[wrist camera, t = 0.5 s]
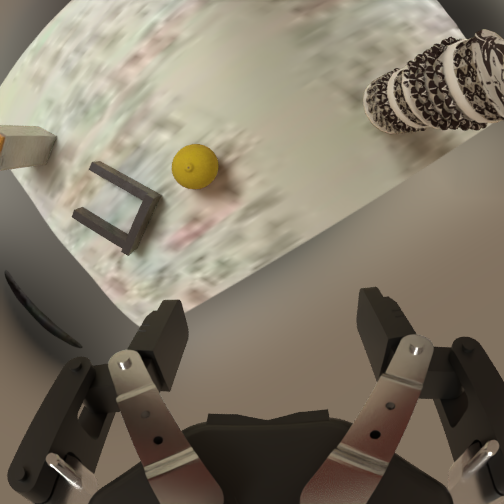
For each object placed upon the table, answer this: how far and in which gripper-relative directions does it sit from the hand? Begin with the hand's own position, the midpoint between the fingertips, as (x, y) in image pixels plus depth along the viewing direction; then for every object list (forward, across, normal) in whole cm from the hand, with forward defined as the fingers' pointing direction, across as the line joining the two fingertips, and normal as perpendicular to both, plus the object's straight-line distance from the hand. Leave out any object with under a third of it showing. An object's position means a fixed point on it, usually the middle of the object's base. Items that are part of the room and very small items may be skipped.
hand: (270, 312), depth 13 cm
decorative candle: (+30, -18, -12) cm, 37 cm away
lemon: (+28, +9, -4) cm, 30 cm away
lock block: (+27, +35, -13) cm, 46 cm away
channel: (+27, +22, -1) cm, 35 cm away
